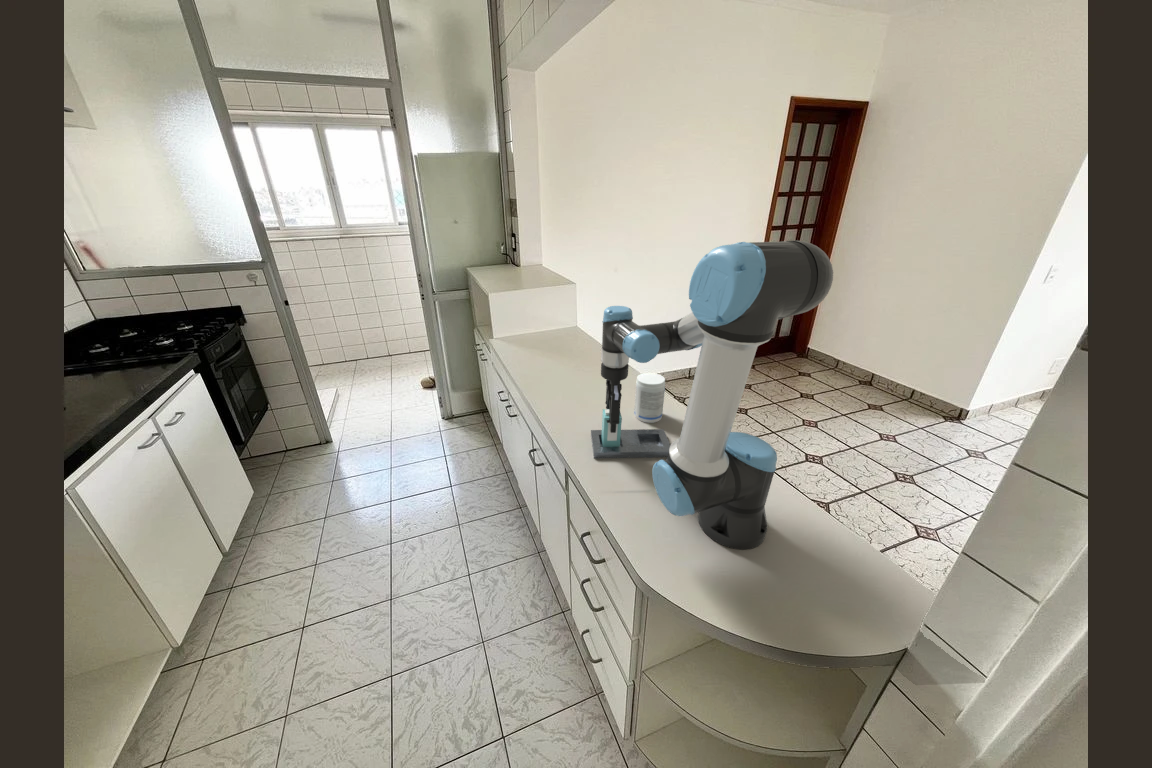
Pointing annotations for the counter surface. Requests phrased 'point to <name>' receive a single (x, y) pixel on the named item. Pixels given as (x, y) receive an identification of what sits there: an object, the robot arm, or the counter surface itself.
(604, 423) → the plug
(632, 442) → the grey socket board
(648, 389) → the supplement tub
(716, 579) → the counter surface
